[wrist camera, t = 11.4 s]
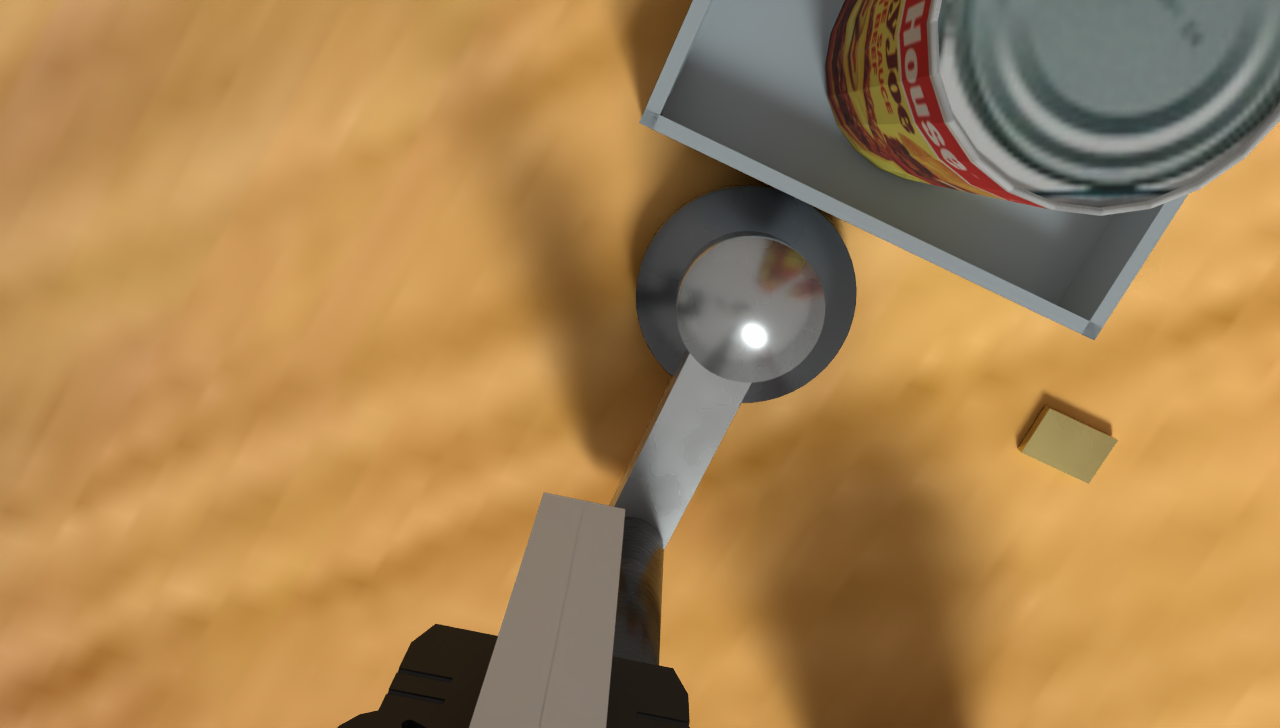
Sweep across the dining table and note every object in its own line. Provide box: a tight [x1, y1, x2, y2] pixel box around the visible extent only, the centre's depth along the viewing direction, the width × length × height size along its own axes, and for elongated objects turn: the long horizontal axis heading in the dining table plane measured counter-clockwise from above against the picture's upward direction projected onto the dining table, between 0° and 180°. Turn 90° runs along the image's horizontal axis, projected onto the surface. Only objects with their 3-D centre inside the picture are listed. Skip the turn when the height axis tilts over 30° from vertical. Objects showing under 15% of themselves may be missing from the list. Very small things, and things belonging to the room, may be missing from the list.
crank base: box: [636, 185, 856, 403], centre depth 30 cm, size 8×8×1 cm
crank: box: [609, 231, 825, 665], centre depth 26 cm, size 14×5×10 cm, turn 156°
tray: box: [639, 0, 1188, 340], centre depth 27 cm, size 17×12×3 cm
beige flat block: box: [1018, 405, 1118, 483], centre depth 32 cm, size 3×2×1 cm, turn 66°
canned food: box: [824, 0, 1280, 216], centre depth 22 cm, size 8×8×12 cm
